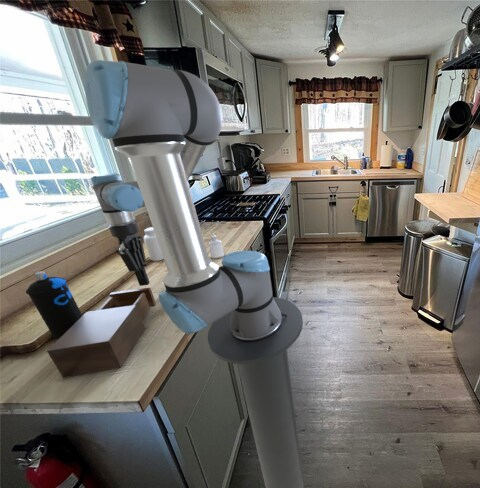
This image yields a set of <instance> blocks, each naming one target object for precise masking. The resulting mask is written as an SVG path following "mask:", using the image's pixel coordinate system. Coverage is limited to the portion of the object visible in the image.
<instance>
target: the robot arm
mask: <svg viewBox="0 0 480 488" xmlns="http://www.w3.org/2000/svg"><path fill="white" fill-rule="evenodd" d="M84 91H85V100H86V106H87V109H88V114H89V118H90V120H91V121H90V122H91V123H92V125H93V126H94V130H95V132H96V133H97V134H98V136H100V137H101V138H103V139H106V140H109V139H110V140H111V141H112V144H113V146H114V149H115V150H116V151H117V152H119V153H121V154H122V155H124V156H125V157H127V158H128V160H129V163H130V165H131V169H132V171H133V174H134V177H135V180H134V181H133V180H132V181H126V182H125V181H123V178H122V176H121V175H120V174H119V173H117V172H114V173H113V172H110V173H109V172H108V173H102V174H101V173H99V174H95V175H92V176H90V178H89V179H90V183H91V186H92V190H93V191H94V193H95V197H96V198H97V201H98V203H99V206H100V208H101V211H102V213H103V217H104V219H105V221H106V224H107V225H108V230H109V232H110V235H111V237H113V238H115V239H117V242H118V245H119V248H117V249H115V252H116V253H117V254H118V255H119V256H120V258H121V260H122V261H123V263H124V265H125V266H126V268H127V270H128V272H131V273H132V272H134V275H135V278H136V280H137V282H138V285H139V287H142V286H148V285H149V284H150V279H149V276H148V274H147V271H146V268H145V267H147V266H148V264H147V259H146V258H147V257H146V253H145V249H144V245H143V236H142V235H138V233H139V232H140V228H139V225H138V222H137V221H136V216H135V213H134V212H135V211H137V210H139V209H140V208H142V207H145V208H146V211H147V214H148V217H149V220H150V223H151V226H152V227H153V229H154V232H155V235H156V237H157V240H158V243H159V246H160V249H161V252H162V255H163V258H164V259H163V260H164V264H165V266H166V269H167V274H166V275H165V277H164V278H163V280H162V281H163V285H164V288H165V290H162V291H161V292H160V293H158V299H159V303H160V305H161V307H162V308H163V310H164V312H165V313H166V315H167V316H168V318H169V319H170V321H171V322H172V323H173V324H174V325H175V326H176V327H177V328H178V329H179V330H180V331H181V332H182V333H184V334H186V335H193V334H195V333H197V332H199V331H201V330H203V329H205V328H208V327H209V326H211V325H212V323H213V322H215V321H217V320H218V319H220V318H222V317H223V316H225V315H227V314H228V313H230V312H231V317H230V332H231V334H232V336H233V337H234V338H235V339H237V340H239V341H242V342H257V341H261V340H264V339H266V338H268V337H270V336H272V335H273V334H274V333H276V332H277V331H278V329H279V328H280V326H281V324H282V316H284V317H287V315H286V314H284V313H281V311H280V309H279V308H278V306H277V304H276V302H275V301H274V299H273V297H274V295H273V286H272V279H271V273H270V270H271V268H270V264H269V260H268V258H267V256H266V255H265V254H264V253H261V252H259V251H255V250H238V251H233V252H229V253H227V254H224V256H223V257H221V266H219V265H218V264H217V262H214V261H212V260H210V256H209V253H208V249H207V245H206V241H205V238H204V235H203V231H202V227H201V225H200V221H199V217H198V214H197V210H196V206H195V204H194V200H193V196H192V193H191V187H190V183H189V179H190V178H191V176H192V174H193V172H194V171H195V168H196V167H197V165H198V163H199V161H200V160H201V158H202V156H203V154H204V152H205V151H206V148H207V147H209V146H212V145H213V144H214V143H215V142H216V140H217V139H218V138H219V135H220V133H221V131H222V127H223V111H222V107H221V103H220V101H219V99H218V97H217V95H216V94H215V92H214V90H213V89H212V88H211V87H210V86H209V85H208V84H207V83H206V82H205V81H204V80H203V79H201V78H200V77H198V76H197V75H195V74H193V73H191V72H188V71H186V70H180V69H170V68H163V67H157V66H151V65H145V64H139V63H133V62H126V61H124V60H118V61H114V60H104V59H102V60H101V59H95V60H92V61H91V62H89V63H88V65H87V66H86V68H85V73H84Z"/></svg>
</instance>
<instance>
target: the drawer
mask: <svg viewBox="0 0 480 488" xmlns="http://www.w3.org/2000/svg"><path fill="white" fill-rule="evenodd" d="M108 295H109V298H108V299H107V300H106V301H105V302H104V303H103V304H102V305H101V306H100V307H99V308H98V309H97V310H103V309H110V308H117V307H124V306H131V305H136V306H137V308H138V311H139V313H140V316H141V318H142V321H143V320H144V319H145V318H146V316H147V315H148V313H149V312H150V311H151V308H153V307H156V306H157V302H156V299H155V296H154V294H153V291H152V288H151V287H144V288H135V289H128V290H122V291H121V290H120V291H113V292H110V293H109V294H108ZM143 322H144V321H143Z"/></svg>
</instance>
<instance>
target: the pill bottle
mask: <svg viewBox="0 0 480 488" xmlns="http://www.w3.org/2000/svg"><path fill="white" fill-rule="evenodd" d="M143 231H144V234H145V235H144V236H143V242H144V246H145V248H146V251H147V254H148V258H149V259H150V261H152V262H158V261H163V260H164V258H163V255H162V252H161V249H160V246H159V243H158V240H157V237H156V235H155V232H154V229H153V226H152V227H151V226H150V227H147V228H145V229H144V230H143Z"/></svg>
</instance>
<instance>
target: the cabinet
mask: <svg viewBox="0 0 480 488" xmlns="http://www.w3.org/2000/svg"><path fill="white" fill-rule="evenodd" d="M145 330H146V326H145V323H144V321H142V318H141V316H140V313H139V311H138V308H137V306H136V305H131V306H124V307H117V308H110V309H103V310H98V309H97V310H89V311H85V313H83V314H82V317H81V318H80V319H79V320H78V321H77V322H76V323H75V324H74V325H73V326H72V327H71V328H70V329H69V330H68V331H67V332H66V333H65V334H64V335H63V336H62V337H61V338H58V339H57V340H56V341H55V342H54V343H53V344H52V345H51V346H50V347H49V348H48V349H47V350H46V352H47V354H48V355H49V357H50V359H51V361H52V362H53V364H54V365H55V367H56V368H57V370H58V372H59V373H60V375H61V377H62V379H63V378H64V379H65V378H71V377H76V376H82V375H88V374H93V373H98V372H105V371H111V370H115V369H121V368H123V365H124V364H125V362H126V361H127V360H128V357H129V356H130V354H131V353H132V352H133V350H134V347H135V346H136V345H137V343H138V341H139V340H140V338H141V337H142V335H143V333H144V331H145Z"/></svg>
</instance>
